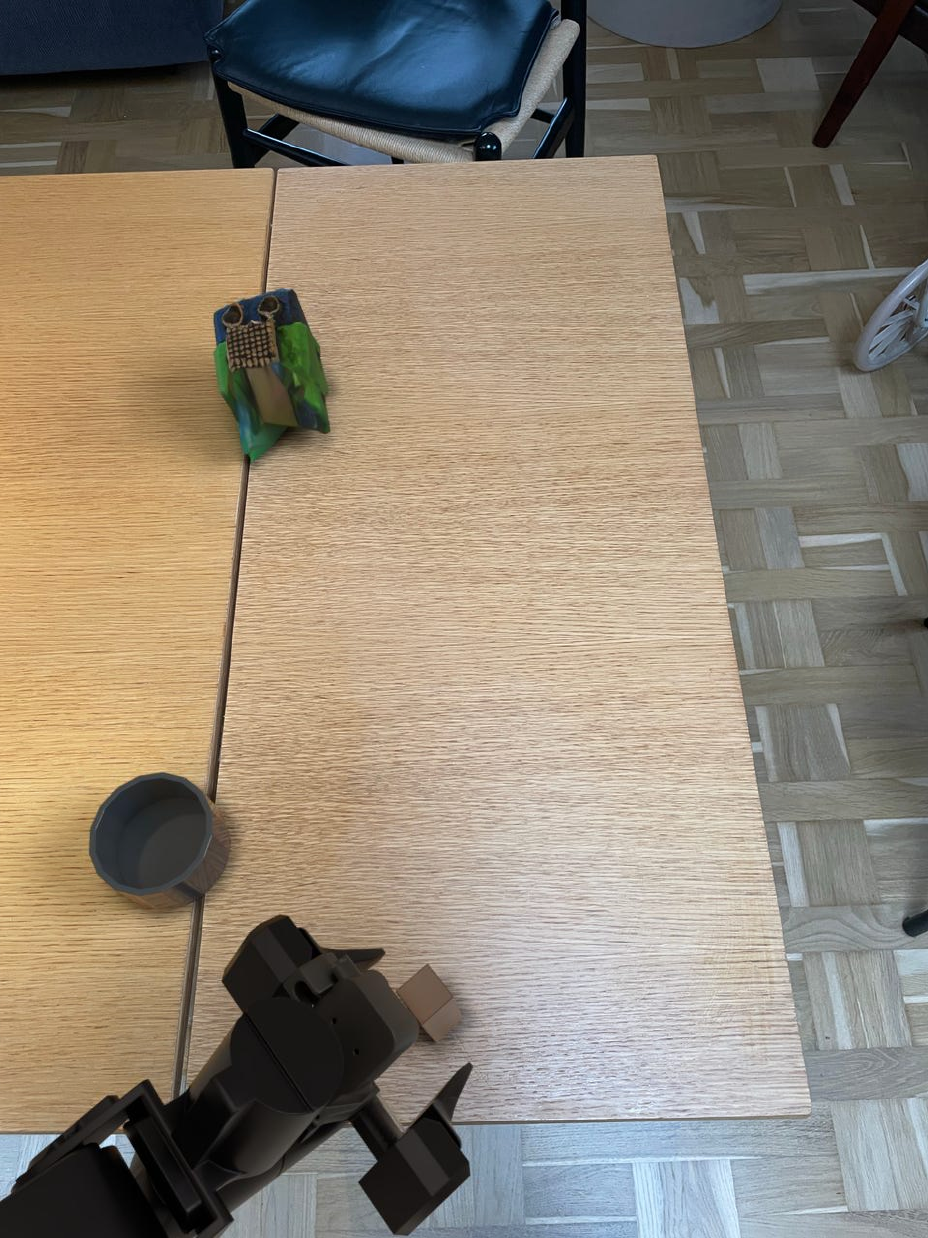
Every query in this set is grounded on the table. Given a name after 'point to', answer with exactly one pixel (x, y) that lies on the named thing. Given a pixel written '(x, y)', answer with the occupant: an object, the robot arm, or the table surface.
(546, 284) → the table surface
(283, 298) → the sculpture
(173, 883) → the cup
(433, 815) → the table surface
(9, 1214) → the robot arm
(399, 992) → the brown rectangular bar
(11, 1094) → the table surface
